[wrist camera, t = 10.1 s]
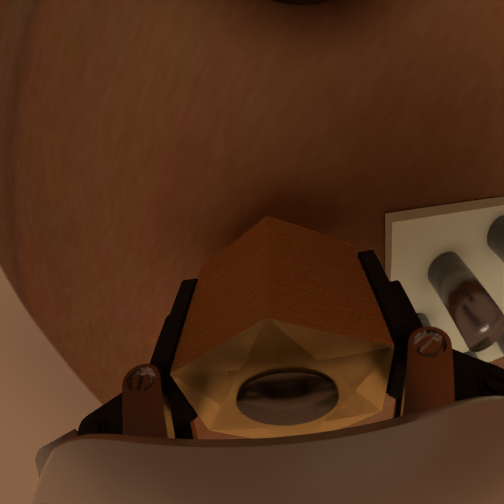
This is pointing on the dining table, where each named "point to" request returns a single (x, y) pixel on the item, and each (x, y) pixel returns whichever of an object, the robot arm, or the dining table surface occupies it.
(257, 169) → the dining table surface
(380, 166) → the dining table surface
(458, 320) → the spacer posts
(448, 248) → the board
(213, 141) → the dining table surface
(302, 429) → the brass nut
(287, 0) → the coffee mug
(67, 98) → the dining table surface
